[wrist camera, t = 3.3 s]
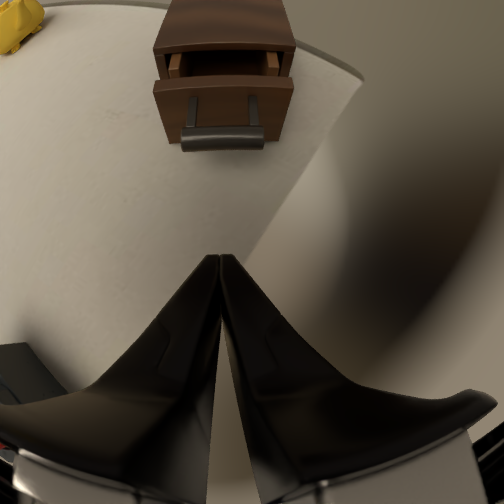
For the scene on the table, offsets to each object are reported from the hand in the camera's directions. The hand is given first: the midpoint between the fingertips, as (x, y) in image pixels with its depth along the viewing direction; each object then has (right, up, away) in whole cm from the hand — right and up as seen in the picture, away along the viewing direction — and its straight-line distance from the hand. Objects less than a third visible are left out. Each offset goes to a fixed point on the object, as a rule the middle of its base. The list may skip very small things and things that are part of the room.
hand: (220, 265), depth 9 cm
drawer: (-2, +14, +14) cm, 20 cm away
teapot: (-47, +45, +18) cm, 68 cm away
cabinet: (-2, +20, +16) cm, 26 cm away
